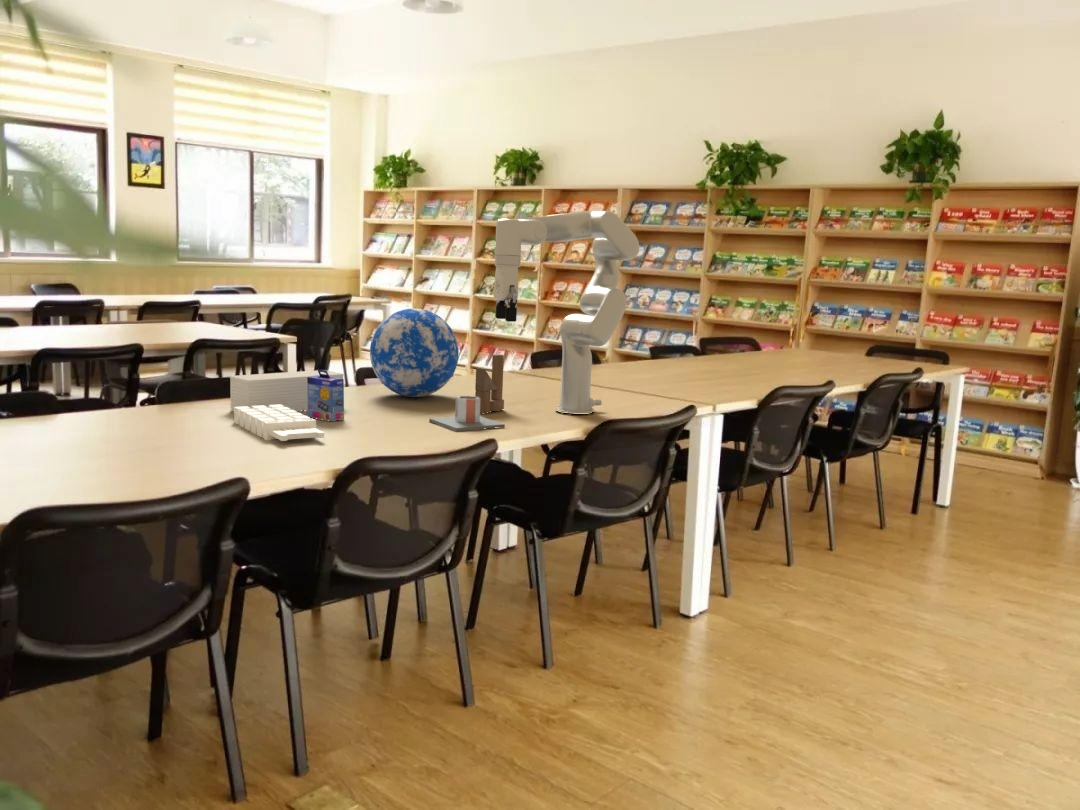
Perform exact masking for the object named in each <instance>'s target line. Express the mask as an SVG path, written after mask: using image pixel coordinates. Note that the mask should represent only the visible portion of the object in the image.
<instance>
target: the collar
mask: <svg viewBox="0 0 1080 810" xmlns="http://www.w3.org/2000/svg"><path fill="white" fill-rule="evenodd" d="M454 411H455V413H454V417H455V421H456V422H458V423H478V422H480V416H481V414H480V398H479V397H476V396H475V395H474V396H473V395H459V396H458V395H457V396H455V410H454Z"/></svg>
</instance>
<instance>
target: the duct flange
mask: <svg viewBox="0 0 1080 810" xmlns="http://www.w3.org/2000/svg"><path fill="white" fill-rule="evenodd" d="M428 421H429V423H431V422H432V423H431V424H434V423H435V424H434V425H437V426H439V425H440V427H442V426H443V427H442V428H446V429H448V430H450V429H451V430H450V431H454V432H456V431H457V432H467V430H470V431H477V430H476V429H482V430H485V429H484V428H495V427H506V424H505V423H502V422H499V421H496V420H492V419H490V418H488V417H487V418H486V417H483V416H481V415H480V422H478V423H458V422H456V421H455V416H449V417H448V416H447V417H446V416H445V417H433V418H432V417H431V418H429V420H428ZM495 429H496V428H495Z"/></svg>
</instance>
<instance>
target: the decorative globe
mask: <svg viewBox="0 0 1080 810" xmlns="http://www.w3.org/2000/svg"><path fill="white" fill-rule="evenodd" d="M459 355H460V353H459V345H458V340H457V336H456V334H455V333H454V331H453V329H452V328H451V326H450V325H449V324H448V323H447V321H445V319H443V318H442V317H441V316H439V315H438V314H436V313H434V312H432V311H430V310H427V309H424V308H414V307H413V308H405V309H402V310H398V311H396V312H393V313H392V314H390V315H389V316H387V317H386V318H385V319H383V321H382V322H380V324H379V325H378V326H377V327H376V330H375V332H374V333H373V336H372V338H371V342H370V345H369V358H370V359H369V361H370V364H371V367H372V370H373V372H374V374H375V375H376V377H377V379H378V380H379V382H380V383H381V384H383V386H384V387H386V388H387V389H388V390H390V391H391V392H393V393H395V394H396V395H397V394H398V395H400V396H403V397H407V398H421V397H426V396H429V395H432V394H434V393H436V392H438V391H439V390H441V389H442V388H443V387H444V386H446V384H447V383H448V382H449V381H450V380H451V379H452V377H453V375H454V373H456V369H457V366H458V362H459Z"/></svg>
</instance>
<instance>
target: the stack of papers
mask: <svg viewBox="0 0 1080 810" xmlns="http://www.w3.org/2000/svg"><path fill="white" fill-rule="evenodd" d="M325 370H326V369H325ZM326 371H327V372H328V374H329V376H330V377H337V378H343V379H344V373H340V372H335V371H330V370H326ZM320 373H321V374H326V373H324V372H320ZM317 375H319V373H318V370H317V369H316V370H305V371H303V370H301V371H289V372H288V371H287V372H271V373H270V372H269V373H256V374H242V375H241V374H239V375H230V377H229V379H230V380H229V381H230V384H229V385H230V388H229V389H230V390H229V391H230V396H229V397H230V412H232V411H233V412H232V413H234V407H242V406H247V407H249V408H251V406H260V405H264V406H266V407H268V405H278V404H281V405H283V406H285V407H288V408H290V409H291V410H294V411H301V410H308V393H307V391H308V390H307V377H309V376H317ZM301 412H302V411H301Z"/></svg>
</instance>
